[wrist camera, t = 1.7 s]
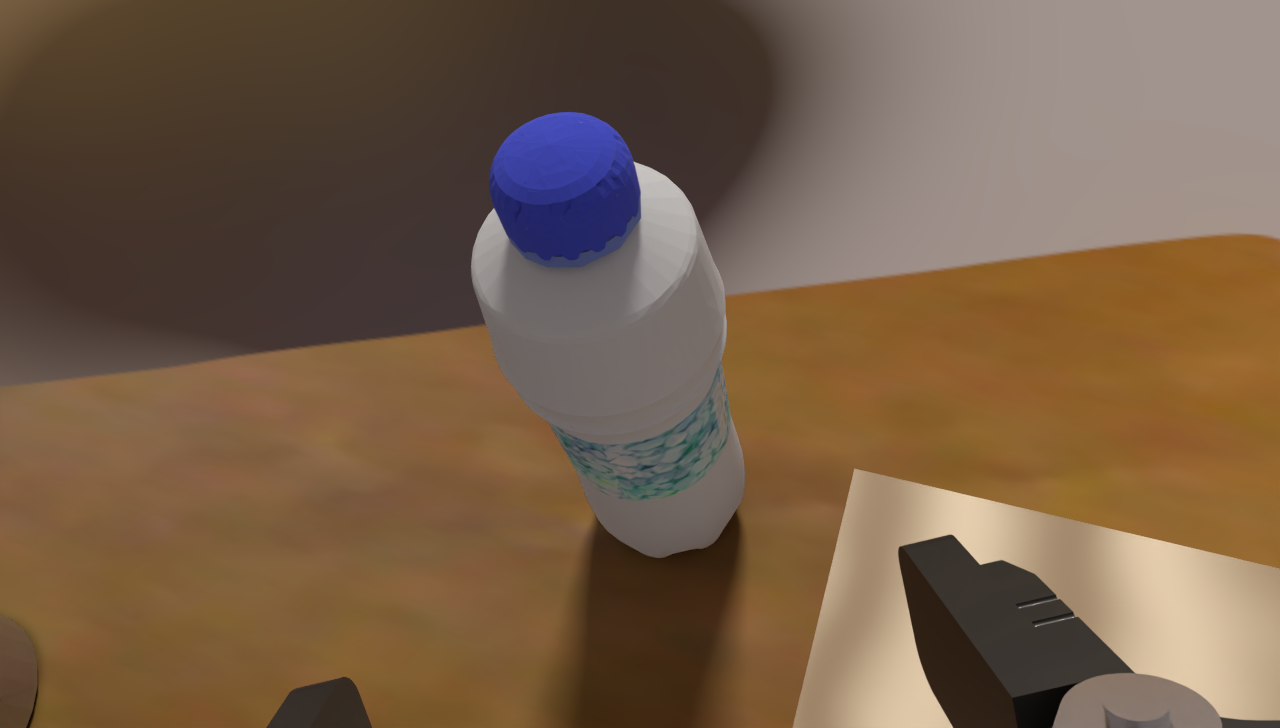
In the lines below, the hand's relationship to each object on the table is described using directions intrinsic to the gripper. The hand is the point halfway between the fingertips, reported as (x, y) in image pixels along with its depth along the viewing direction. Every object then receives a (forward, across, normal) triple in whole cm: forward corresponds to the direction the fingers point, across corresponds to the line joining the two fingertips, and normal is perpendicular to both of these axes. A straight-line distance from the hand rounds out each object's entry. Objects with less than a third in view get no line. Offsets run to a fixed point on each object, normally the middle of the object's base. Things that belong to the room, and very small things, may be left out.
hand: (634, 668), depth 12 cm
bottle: (+22, 0, +7) cm, 23 cm away
